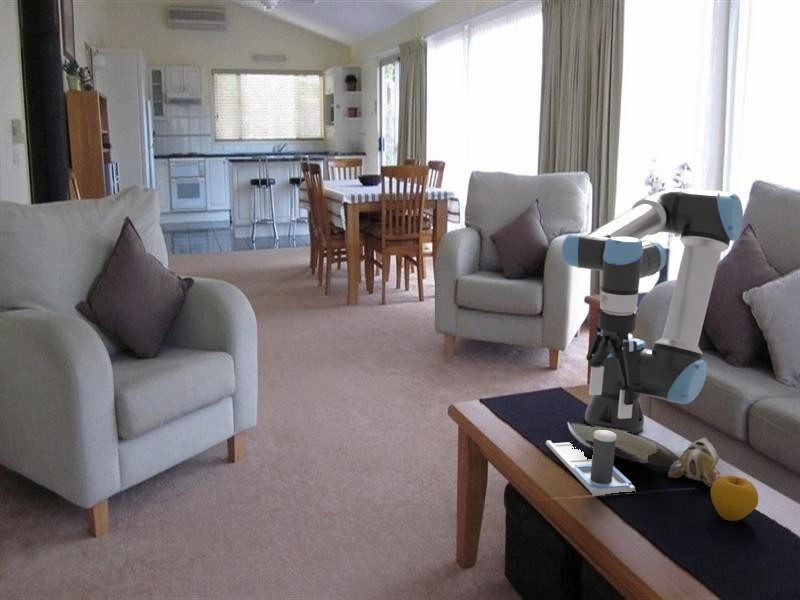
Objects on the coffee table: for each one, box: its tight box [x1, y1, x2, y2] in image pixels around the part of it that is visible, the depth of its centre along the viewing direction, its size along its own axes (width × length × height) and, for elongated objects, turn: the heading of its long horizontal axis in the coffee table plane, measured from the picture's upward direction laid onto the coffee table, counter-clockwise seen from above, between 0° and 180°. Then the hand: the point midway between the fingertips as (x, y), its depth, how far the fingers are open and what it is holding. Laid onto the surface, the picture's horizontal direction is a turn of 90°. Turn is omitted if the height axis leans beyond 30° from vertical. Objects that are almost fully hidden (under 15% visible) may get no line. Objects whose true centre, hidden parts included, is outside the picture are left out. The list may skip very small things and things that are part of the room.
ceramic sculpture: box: [667, 436, 721, 488], centre depth 167 cm, size 11×9×15 cm
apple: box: [710, 475, 759, 522], centre depth 149 cm, size 9×9×9 cm
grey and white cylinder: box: [591, 429, 618, 484], centre depth 163 cm, size 5×5×11 cm
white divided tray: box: [545, 440, 636, 497], centre depth 171 cm, size 10×26×2 cm, turn 12°
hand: (609, 405), depth 160 cm, fingers open, 13 cm apart
